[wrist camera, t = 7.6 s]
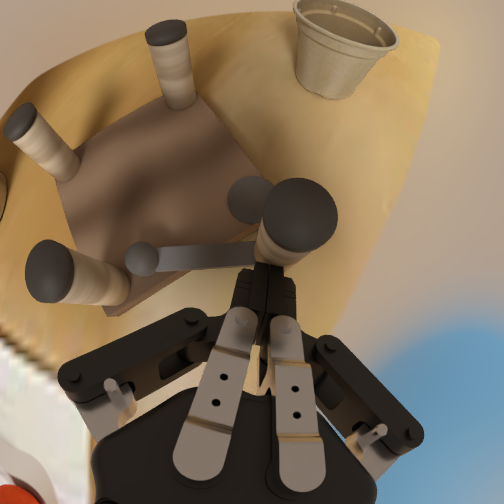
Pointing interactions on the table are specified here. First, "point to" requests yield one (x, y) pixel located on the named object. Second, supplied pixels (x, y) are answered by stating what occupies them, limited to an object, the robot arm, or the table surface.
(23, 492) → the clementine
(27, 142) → the stool
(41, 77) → the table surface
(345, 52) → the flower pot
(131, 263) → the swing leg
